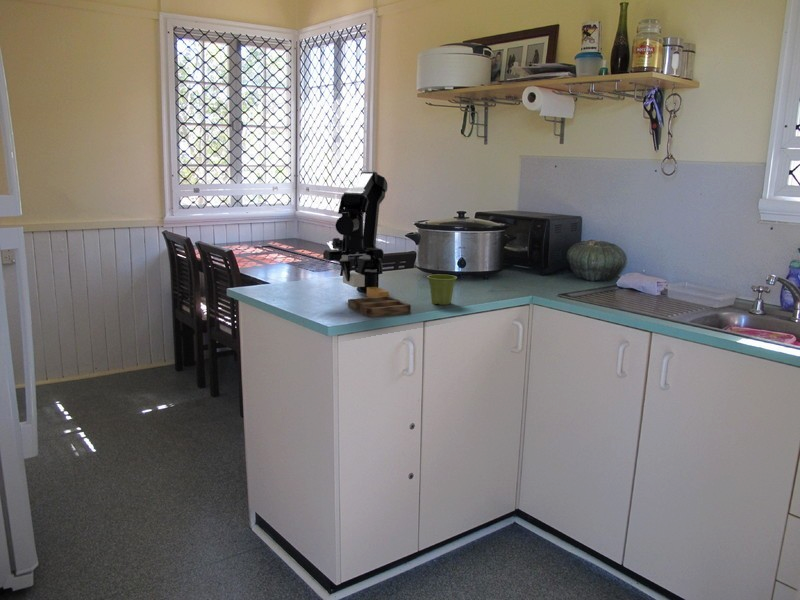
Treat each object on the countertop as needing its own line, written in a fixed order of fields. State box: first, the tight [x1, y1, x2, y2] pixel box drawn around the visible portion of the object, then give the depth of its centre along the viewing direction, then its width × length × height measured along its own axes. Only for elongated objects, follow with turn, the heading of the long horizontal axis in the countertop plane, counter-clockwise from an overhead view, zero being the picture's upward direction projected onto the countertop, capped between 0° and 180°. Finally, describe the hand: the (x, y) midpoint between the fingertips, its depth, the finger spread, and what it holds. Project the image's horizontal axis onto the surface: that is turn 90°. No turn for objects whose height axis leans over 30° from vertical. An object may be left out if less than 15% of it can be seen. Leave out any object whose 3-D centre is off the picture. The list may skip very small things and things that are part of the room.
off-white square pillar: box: [342, 270, 365, 288], centre depth 212 cm, size 9×4×4 cm, turn 28°
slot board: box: [347, 295, 412, 318], centre depth 202 cm, size 14×14×2 cm
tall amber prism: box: [366, 286, 390, 298], centre depth 218 cm, size 9×4×4 cm, turn 29°
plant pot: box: [426, 273, 458, 306], centre depth 214 cm, size 9×9×9 cm
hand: (353, 280), depth 212 cm, fingers closed on off-white square pillar, 3 cm apart
